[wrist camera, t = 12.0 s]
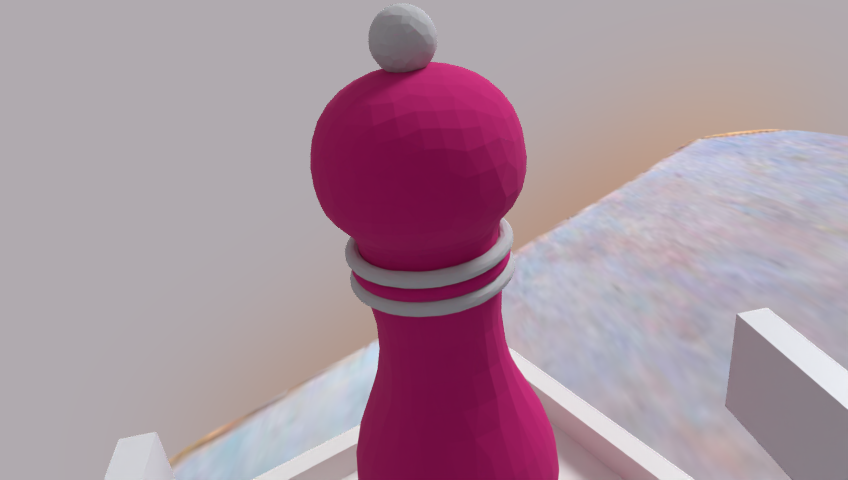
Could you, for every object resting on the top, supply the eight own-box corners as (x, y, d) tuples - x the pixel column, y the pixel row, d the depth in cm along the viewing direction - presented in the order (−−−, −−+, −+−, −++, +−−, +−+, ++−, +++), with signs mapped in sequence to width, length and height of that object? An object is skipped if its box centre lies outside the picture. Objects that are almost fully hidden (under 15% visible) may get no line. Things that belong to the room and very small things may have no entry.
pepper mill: (518, 452, 29) (485, -22, 20) (596, 596, 22) (600, -9, 13) (361, 498, 27) (251, 12, 18) (397, 664, 21) (256, 46, 12)
